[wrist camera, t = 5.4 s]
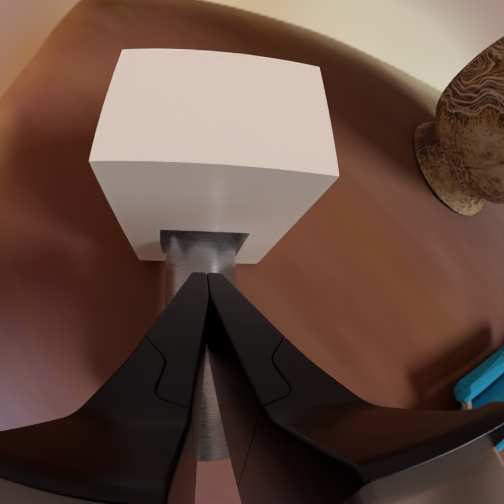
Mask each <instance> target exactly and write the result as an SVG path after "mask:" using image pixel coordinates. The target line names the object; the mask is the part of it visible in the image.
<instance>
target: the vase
mask: <svg viewBox="0 0 504 504" xmlns="http://www.w3.org/2000/svg"><path fill="white" fill-rule="evenodd" d="M414 146H415V153H416V157H417V160H418V163H419V165H420V168H421V170H422V172H423V174H424V176H425V178H426V179H427V181H428V183H429V185H430V186H431V187H432V189H433V190H434V191H435V193H436V194H437V195H438V197H439V198H440V199H441V200H442V201H443V202H444V203H445V204H447V205H448V206H449V207H451V208H452V209H453V210H454V211H456V212H458V213H459V214H463V215H474V214H476V213H477V212H479V211H480V210H481V208H482V207H483V205H484V203H485V201H486V200H487V201H490V202H492V203H497V204H504V36H503V37H502V38H501V39H499V40H498V41H496V42H495V43H493V44H492V45H490V46H489V47H487V48H486V49H485V50H484V51H482V52H481V53H480V54H479V55H477V56H476V57H475V58H474V59H473V60H472V61H471V62H470V63H469V64H468V65H466V66H465V67H464V68H463V69H462V70H461V71H460V72H459V73H458V74H457V75H456V76H455V77H454V78H453V80H452V81H451V82H450V83H449V85H448V86H447V87H446V89H445V90H444V91H443V93H442V95H441V97H440V99H439V101H438V104H437V107H436V117H435V121H431V122H425V123H422V124H420V125H419V126H418V127H417V129H416V130H415V134H414Z"/></svg>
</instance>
